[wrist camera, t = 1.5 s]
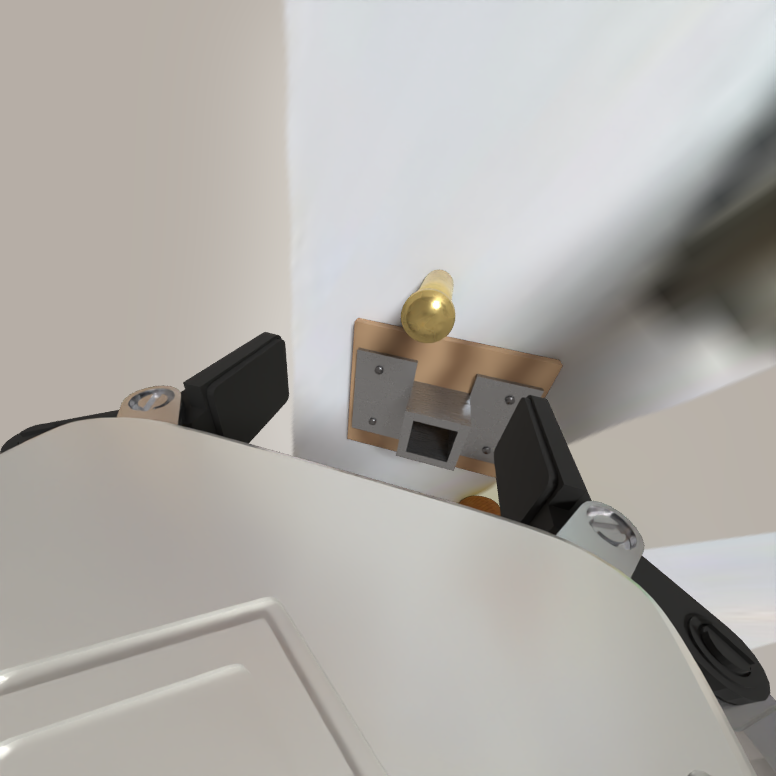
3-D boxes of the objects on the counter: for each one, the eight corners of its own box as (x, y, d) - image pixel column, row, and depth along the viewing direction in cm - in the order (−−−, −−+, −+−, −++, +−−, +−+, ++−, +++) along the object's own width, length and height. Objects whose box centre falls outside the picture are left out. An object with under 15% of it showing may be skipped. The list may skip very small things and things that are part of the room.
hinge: (542, 388, 30) (558, 423, 25) (502, 462, 37) (508, 502, 32) (359, 347, 32) (340, 372, 27) (353, 424, 39) (337, 455, 34)
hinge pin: (462, 269, 27) (461, 296, 18) (451, 308, 29) (447, 348, 20) (423, 262, 27) (405, 285, 19) (415, 301, 29) (397, 337, 21)
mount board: (559, 360, 29) (562, 365, 28) (499, 471, 39) (499, 478, 38) (358, 317, 32) (354, 321, 31) (350, 433, 42) (347, 438, 41)
